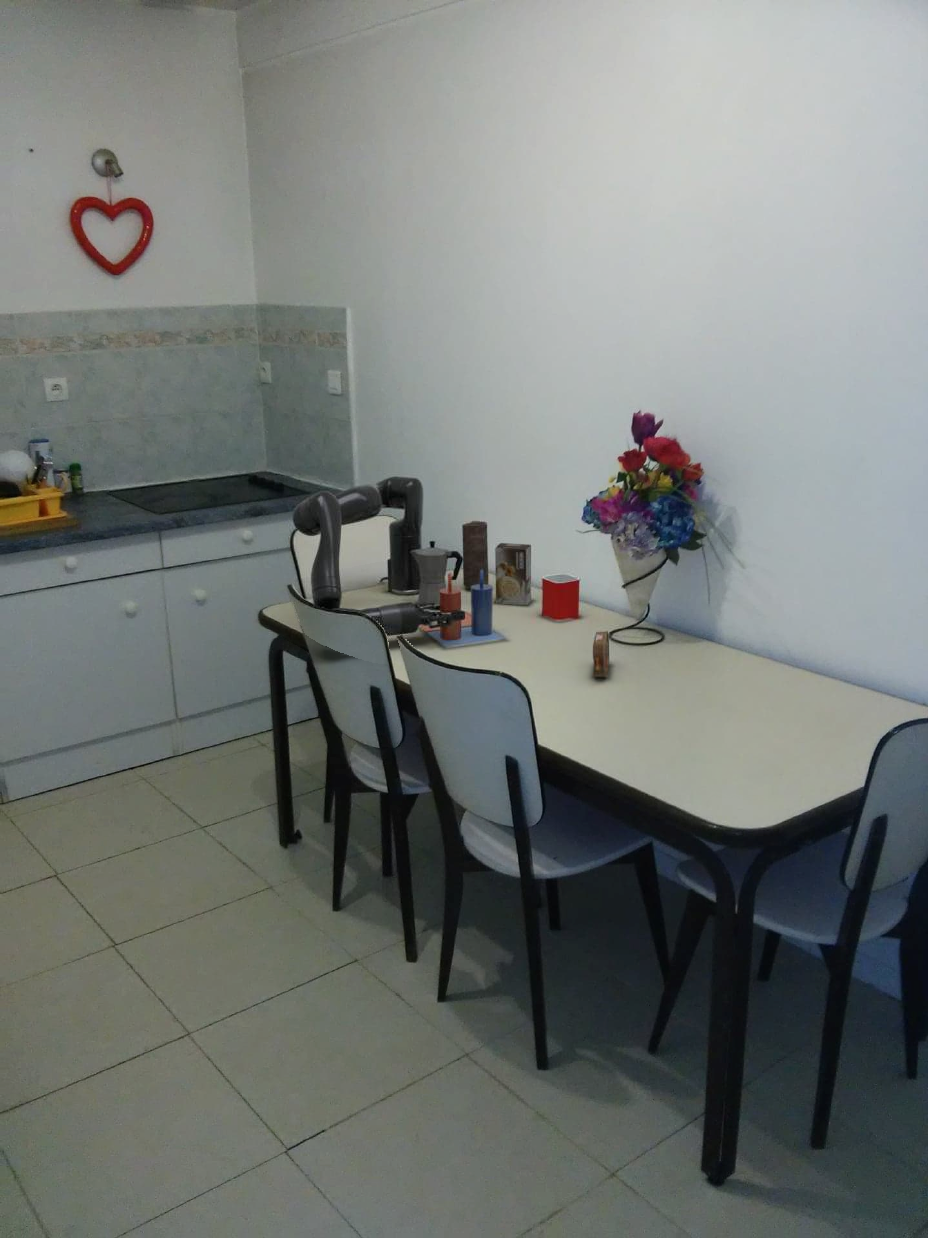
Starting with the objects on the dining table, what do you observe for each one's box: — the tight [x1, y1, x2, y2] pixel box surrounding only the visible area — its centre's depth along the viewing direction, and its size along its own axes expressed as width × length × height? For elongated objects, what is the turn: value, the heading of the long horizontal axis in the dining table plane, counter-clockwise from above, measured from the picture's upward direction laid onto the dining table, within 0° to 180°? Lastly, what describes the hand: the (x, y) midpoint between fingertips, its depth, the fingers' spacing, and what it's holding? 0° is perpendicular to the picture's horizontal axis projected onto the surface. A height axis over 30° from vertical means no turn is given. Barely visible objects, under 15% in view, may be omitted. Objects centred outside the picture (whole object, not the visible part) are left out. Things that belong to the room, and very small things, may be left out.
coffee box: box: [494, 542, 532, 606], centre depth 296 cm, size 9×6×16 cm
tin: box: [592, 630, 610, 679], centre depth 242 cm, size 15×3×8 cm, turn 168°
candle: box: [461, 520, 490, 590], centre depth 309 cm, size 8×7×20 cm
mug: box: [541, 572, 581, 621], centre depth 284 cm, size 12×8×11 cm
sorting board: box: [418, 610, 506, 648], centre depth 273 cm, size 16×26×1 cm, turn 23°
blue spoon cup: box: [470, 570, 494, 636], centre depth 267 cm, size 5×5×16 cm
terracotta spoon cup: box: [439, 572, 462, 640], centre depth 264 cm, size 5×5×16 cm
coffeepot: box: [410, 540, 463, 604], centre depth 294 cm, size 15×9×18 cm, turn 70°
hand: (459, 611), depth 265 cm, fingers open, 6 cm apart
